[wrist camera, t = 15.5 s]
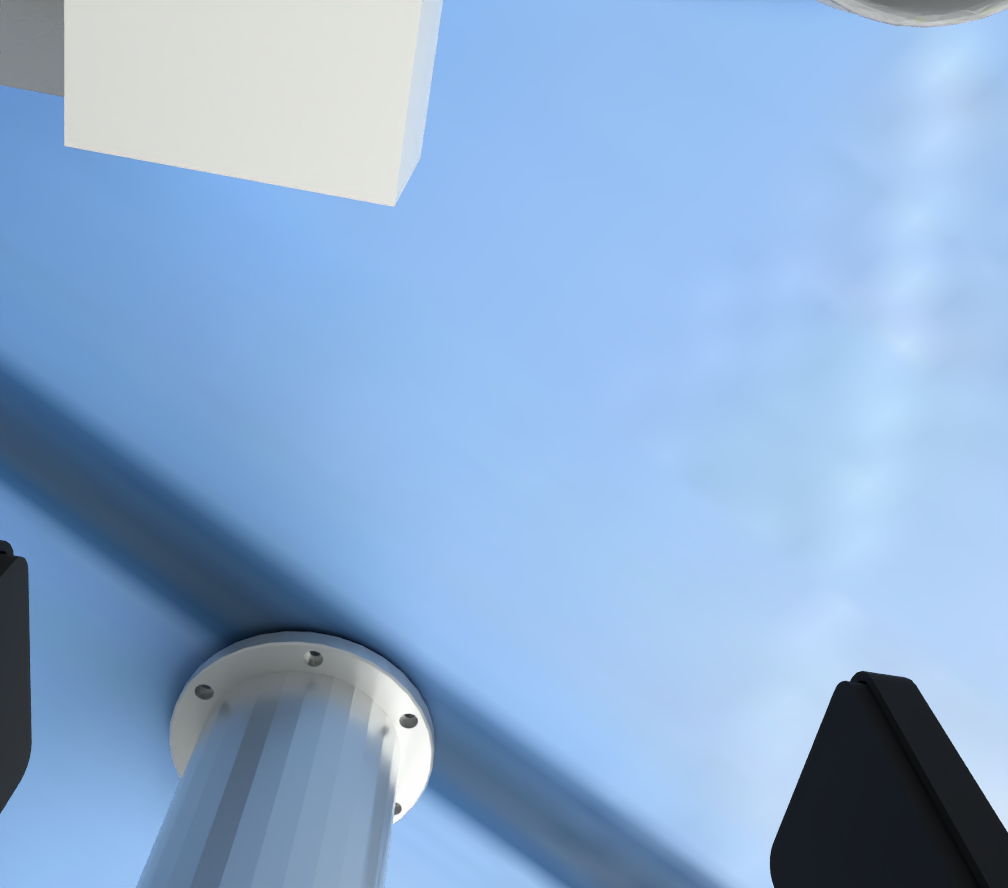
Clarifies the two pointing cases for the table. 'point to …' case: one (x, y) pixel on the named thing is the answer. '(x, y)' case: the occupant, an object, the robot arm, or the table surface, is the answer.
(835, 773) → the robot arm
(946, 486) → the table surface
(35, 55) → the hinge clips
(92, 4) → the cabinet
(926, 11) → the teacup
